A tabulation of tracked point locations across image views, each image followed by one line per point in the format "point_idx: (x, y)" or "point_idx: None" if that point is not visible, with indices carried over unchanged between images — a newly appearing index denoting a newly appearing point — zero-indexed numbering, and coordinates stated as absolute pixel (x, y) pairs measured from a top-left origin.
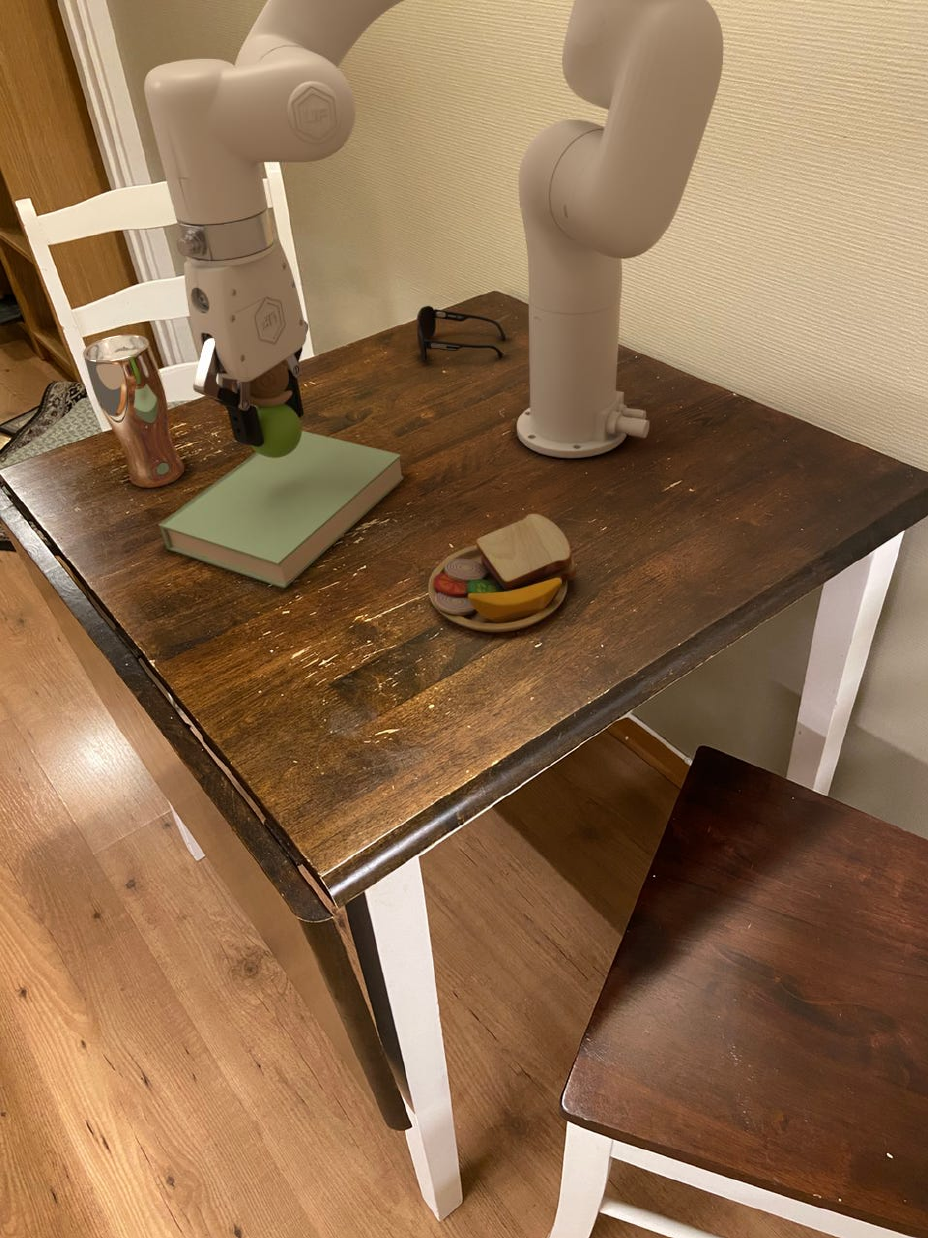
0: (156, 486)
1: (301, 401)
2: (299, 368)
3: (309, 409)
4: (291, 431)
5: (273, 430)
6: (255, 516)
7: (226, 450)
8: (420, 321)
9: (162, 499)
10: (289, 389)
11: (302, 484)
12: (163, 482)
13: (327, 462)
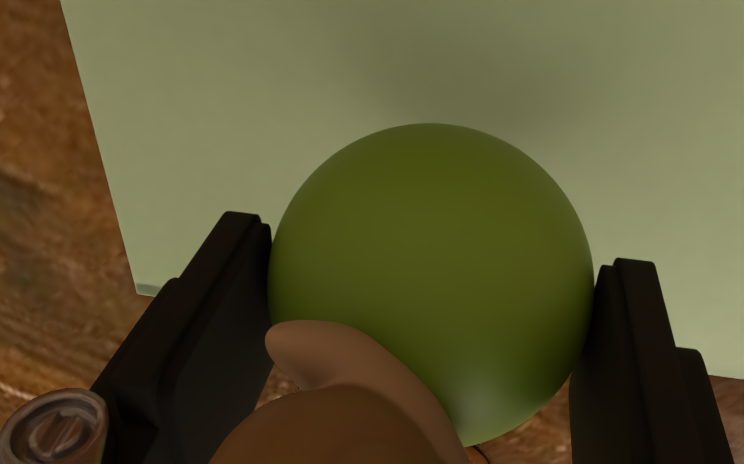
0: (480, 454)
1: (193, 258)
2: (18, 421)
3: (3, 303)
4: (461, 165)
5: (552, 256)
6: (682, 125)
7: (268, 390)
8: None
9: (523, 422)
10: (204, 366)
11: (408, 74)
12: (466, 449)
13: (231, 67)
